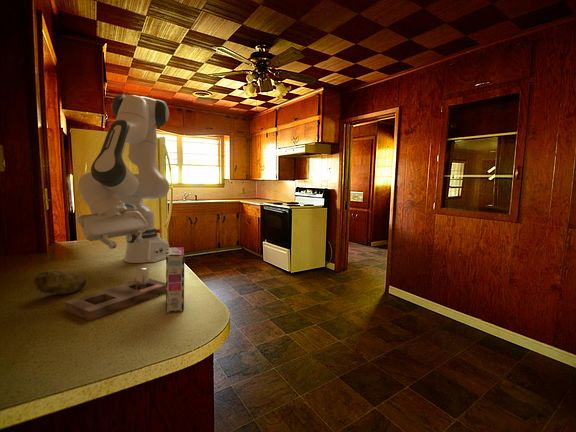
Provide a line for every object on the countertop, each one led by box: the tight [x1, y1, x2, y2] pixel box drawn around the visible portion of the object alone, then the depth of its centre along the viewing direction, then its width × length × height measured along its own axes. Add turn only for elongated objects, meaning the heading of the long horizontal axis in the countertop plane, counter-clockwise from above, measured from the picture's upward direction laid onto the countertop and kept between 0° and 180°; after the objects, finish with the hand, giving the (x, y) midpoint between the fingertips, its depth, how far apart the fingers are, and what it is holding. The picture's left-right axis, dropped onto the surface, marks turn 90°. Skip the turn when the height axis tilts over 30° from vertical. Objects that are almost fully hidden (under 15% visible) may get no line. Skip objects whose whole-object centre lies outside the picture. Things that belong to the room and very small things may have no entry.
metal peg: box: [133, 266, 149, 290], centre depth 95 cm, size 4×4×8 cm
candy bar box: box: [165, 246, 185, 313], centre depth 86 cm, size 11×5×16 cm, turn 21°
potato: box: [33, 269, 87, 295], centre depth 92 cm, size 8×13×8 cm, turn 127°
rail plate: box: [64, 277, 166, 322], centre depth 89 cm, size 25×12×3 cm, turn 152°
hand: (127, 244), depth 97 cm, fingers open, 8 cm apart
